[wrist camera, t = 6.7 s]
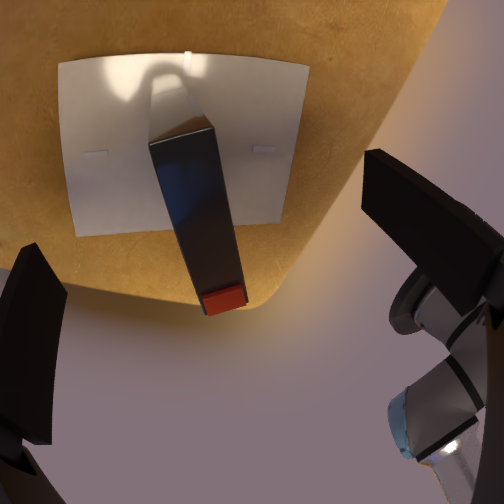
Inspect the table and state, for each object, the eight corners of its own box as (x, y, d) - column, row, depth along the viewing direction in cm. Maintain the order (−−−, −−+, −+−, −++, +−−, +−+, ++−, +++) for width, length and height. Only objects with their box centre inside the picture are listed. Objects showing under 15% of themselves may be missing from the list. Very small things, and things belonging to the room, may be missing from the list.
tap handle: (151, 94, 14) (146, 146, 7) (184, 86, 14) (216, 128, 7) (180, 204, 18) (206, 321, 12) (208, 196, 19) (250, 307, 12)
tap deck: (290, 60, 17) (311, 64, 15) (266, 204, 24) (280, 225, 22) (71, 59, 13) (57, 61, 11) (83, 215, 20) (76, 240, 17)
